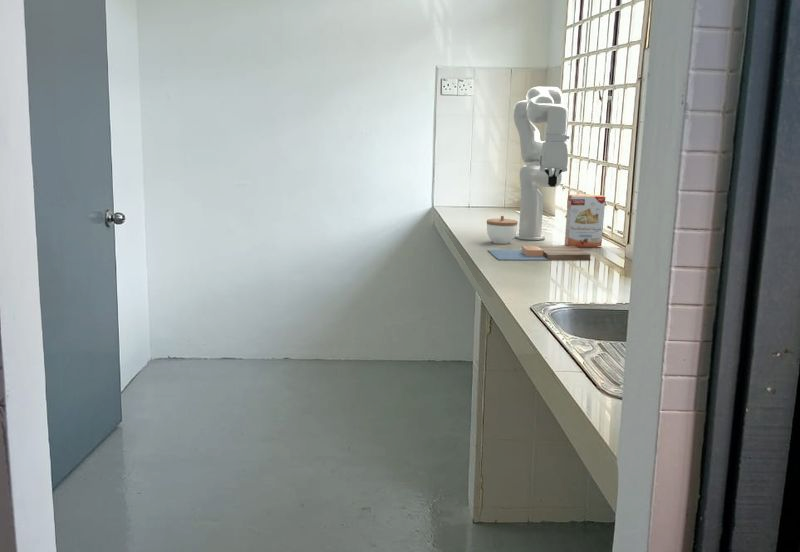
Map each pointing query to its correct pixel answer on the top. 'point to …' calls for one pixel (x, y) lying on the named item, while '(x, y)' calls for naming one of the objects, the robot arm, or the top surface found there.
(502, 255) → the mat
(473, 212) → the top surface
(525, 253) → the block
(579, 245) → the cracker box
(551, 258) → the board
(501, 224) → the lidded bowl
